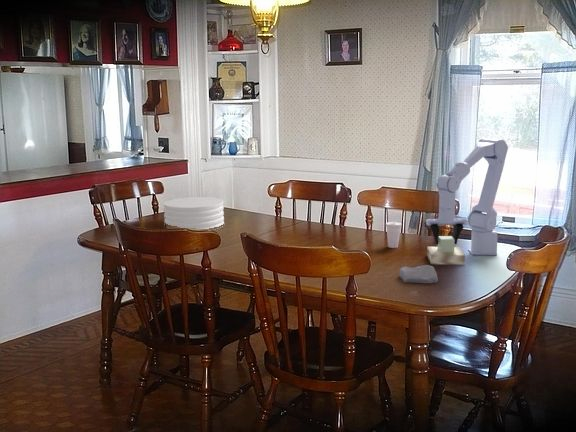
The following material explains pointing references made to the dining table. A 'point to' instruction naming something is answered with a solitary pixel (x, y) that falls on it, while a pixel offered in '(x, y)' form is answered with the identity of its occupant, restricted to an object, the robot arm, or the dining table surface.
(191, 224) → the plate stack
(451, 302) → the dining table surface
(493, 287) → the dining table surface
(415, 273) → the stone block
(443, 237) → the green block
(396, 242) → the smoothie
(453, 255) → the beige panel
